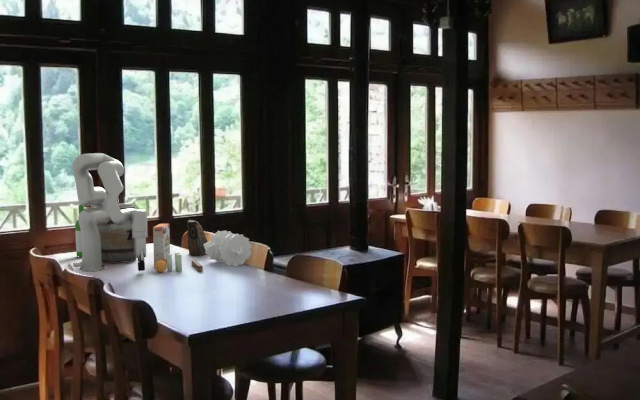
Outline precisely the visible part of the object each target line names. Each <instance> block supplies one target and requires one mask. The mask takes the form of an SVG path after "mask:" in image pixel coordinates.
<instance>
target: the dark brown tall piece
mask: <svg viewBox="0 0 640 400" xmlns="http://www.w3.org/2000/svg"><path fill="white" fill-rule="evenodd" d="M186 225H187V226H186V228H187V235H186V236H187V249H188V254H189V255H188V256H192V257H198V258H199V257H200V258H202V257H203V256H208V255H207V254H206V253H205V252H206V251H205V248H204V245H203V244H205V243H207V242H209V241H208V240H207V237H206V234H205V231H204V229H203V227H202V225H201V224H200V223H199V222H198V221H196V220H193V219H192V220H191V219H189V220H187V221H186Z"/></svg>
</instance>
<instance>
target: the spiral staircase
mask: <svg viewBox="0 0 640 400" xmlns="http://www.w3.org/2000/svg"><path fill="white" fill-rule="evenodd" d="M203 245H204V248H205V251H206V252H205V253H206V254H207V255H206V256H208V257H209V258H210V260H214V261H216V262H218V261H219V263H222V264H225V265H227V264H228V265H227V266H233V267H234V266H235V267H238V266H239V265H241V266H243V265H244V263H245V262H246V260H250V256H252V251H251V250H252V249H251V248H252V247H253V245H252V244H251V242H250V238H248V237H247V236H244V234H239V233H232V232H231V230H230V231H227V230H221V231H220V230H217V232H215V233H214V234H212V235H211V238H210V241H208V242H207V243H205V244H203Z"/></svg>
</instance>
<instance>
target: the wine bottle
mask: <svg viewBox="0 0 640 400" xmlns="http://www.w3.org/2000/svg"><path fill="white" fill-rule="evenodd" d="M83 210H85V206H82V205H81V204H80V203H79V204H78V215H79V214H80V213H81V212H82V211H83ZM74 229H75V231H74V232H75V233H74V234H75V249H76V250H75V251H76V257H77V256H79V257H82V242H81V230H80V225H79V221H78V219H76V221H75V223H74ZM79 257H78V258H79Z"/></svg>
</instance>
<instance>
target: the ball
mask: <svg viewBox="0 0 640 400" xmlns="http://www.w3.org/2000/svg"><path fill="white" fill-rule="evenodd" d="M154 270H155V271H156V272H158V273H163V272H165V271H167V264H166V263H165V262H164V261H162V260H159V261H157V262H156V263H155V266H154Z"/></svg>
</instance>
